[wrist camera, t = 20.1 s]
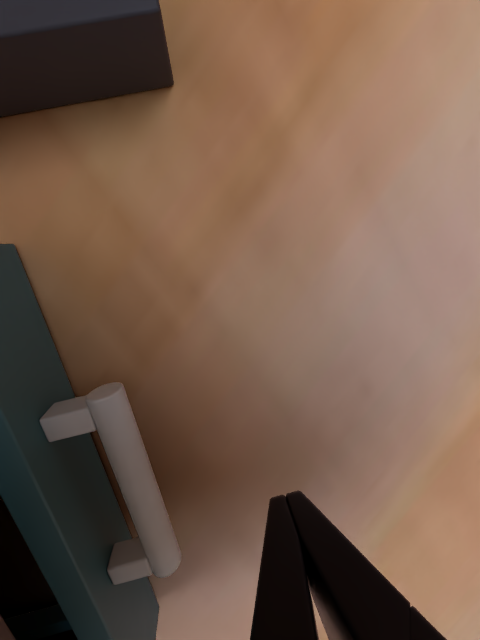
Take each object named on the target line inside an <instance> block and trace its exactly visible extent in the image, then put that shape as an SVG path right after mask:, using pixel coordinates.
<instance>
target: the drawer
mask: <svg viewBox="0 0 480 640" xmlns="http://www.w3.org/2000/svg"><path fill="white" fill-rule="evenodd" d="M96 429H97V431H98V434H99V436H100V439H101V442H102V444H103V447H104V449H105V452H106V454H107V457H108V459H109V462H110V465H111V467H112V470H113V472H114V475H115V477H116V480H117V482H118V485H119V488H120V490H121V493H122V495H123V498H124V500H125V503H126V505H127V508H128V511H129V513H130V516H131V518H132V521H133V523H134V526H135V528H136V531H137V533H138V536H139V537H136V538H133V539H132V537H131V535H130V532H129V530H128V527H127V525H126V522H125V520H124V517H123V515H122V512H121V510H120V507H119V505H118V502H117V500H116V497H115V495H114V492H113V490H112V487H111V485H110V482H109V480H108V477H107V475H106V472H105V470H104V467H103V465H102V462H101V460H100V457H99V455H98V452H97V450H96V447H95V445H94V442H93V440H92V437H91V435H90V432H93V431H95V430H96ZM0 496H1V498H2V499H3V501H4V503H5V505H6V507H7V509H8V511H9V512H10V514H11V516H12V518H13V520H14V522H15V524H16V525H17V527H18V529H19V531H20V533H21V535H22V537H23V538H24V540H25V542H26V544H27V546H28V548H29V550H30V552H31V553H32V555H33V557H34V559H35V561H36V563H37V565H38V566H39V568H40V570H41V572H42V574H43V576H44V578H45V579H46V581H47V583H48V585H49V587H50V589H51V591H52V592H53V594H54V596H55V598H56V600H57V602H58V605H54V606H51V607H47V608H43V609H40V610H36V611H32V612H29V613H25V614H21V615H18V616H14V617H11V618H7V619H4V621H5V623H6V624H7V626H8V627H9V629H10V631H11V632H12V634H13V635H14V637H15V639H16V640H36V639H40V638H43V637H47V636H50V635H54V634H57V633H61V632H64V631H68V630H73V632H74V633H75V635H76V637H77V639H78V640H155V639H156V630H157V621H158V613H159V604H158V602H157V599H156V597H155V594H154V592H153V589H152V587H151V584H150V582H149V579H148V577H147V576H150V575H151V574H152V572H153V574H154V575H155V576H157V577H159V578H165V577H168V576H170V575H171V574H173V573H174V572H175V571H176V570H177V568H178V567H179V565H180V562H181V558H182V554H181V551H180V548H179V545H178V542H177V539H176V536H175V533H174V530H173V527H172V524H171V522H170V519H169V516H168V513H167V510H166V507H165V504H164V501H163V498H162V496H161V493H160V490H159V487H158V484H157V481H156V478H155V475H154V472H153V469H152V467H151V464H150V461H149V458H148V455H147V452H146V449H145V446H144V443H143V441H142V438H141V435H140V432H139V429H138V426H137V423H136V420H135V417H134V414H133V412H132V409H131V406H130V403H129V400H128V397H127V394H126V391H125V388H124V386H123V384H122V383H119V382H113V383H108V384H105V385H102V386H99V387H97V388H96V389H94V390H92V391H91V392H90V393H88V394H87V395H85V396H81V397H77V398H76V397H75V395H74V392H73V390H72V387H71V385H70V382H69V380H68V377H67V375H66V372H65V370H64V367H63V365H62V362H61V360H60V357H59V355H58V352H57V350H56V348H55V345H54V343H53V340H52V338H51V335H50V333H49V330H48V328H47V325H46V323H45V320H44V318H43V315H42V313H41V310H40V308H39V305H38V303H37V300H36V298H35V295H34V293H33V290H32V288H31V285H30V283H29V280H28V278H27V275H26V273H25V270H24V268H23V265H22V263H21V260H20V258H19V255H18V253H17V250H16V248H15V245H14V244H0Z"/></svg>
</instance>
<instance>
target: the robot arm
mask: <svg viewBox="0 0 480 640" xmlns="http://www.w3.org/2000/svg"><path fill="white" fill-rule="evenodd" d="M309 588H310V589H309ZM310 591H311V594H312V597H313V600H314V603H315V605H316V608H317V610H318V613H319V616H320V618H321V621H322V623H323V626H324V628H325V631H326V633H327V636H328V639H329V640H447V639H446V638H445V637H443V636H442V635H441V634H440V633H439V632H438V631H437V630H436V629H435V628H434V627H433V626H432V625H431V624H430V623H429V622H428V621H427V620H426V619H425V618H424V617H423V616H422V615H421V614H420V613H419V611H418V610H417V609H416V608H415V607H413V606H411V608H410V603H409V601H408V600H407V599H406V598H405V597H404V596H403V595H402V594H401V593H400V592H399V591H398V590H397V589H396V588H395V587H394V586H393V585H392V584H391V583H390V582H389V581H388V580H387V579H386V578H385V577H384V576H383V575H382V574H381V573H380V572H379V571H378V570H377V569H376V568H375V567H374V566H373V565H372V564H371V563H370V562H369V561H368V560H367V558H366V557H365V556H364V555H363V554H362V553H361V552H360V551H359V550H358V549H357V548H356V547H355V546H354V545H353V544H352V543H351V542H350V541H349V540H348V539H347V538H346V537H345V536H344V535H343V534H342V533H341V532H340V531H339V530H338V529H337V528H336V527H335V526H334V525H333V524H332V523H331V522H330V521H329V520H328V519H327V518H326V517H325V515H324V514H323V513H322V512H321V511H320V510H319V509H318V508H317V507H316V506H315V505H314V504H313V503H312V502H311V501H310V500H309V499H308V498H307V497H306V496H305V495H304V494H303V493H302V492H301V491H294V492H291V493H287V494H286V497H285V496H284V495H279V496H276V497H272V498H271V499H270V502H269V509H268V516H267V523H266V530H265V537H264V544H263V551H262V558H261V565H260V572H259V580H258V587H257V594H256V601H255V608H254V615H253V622H252V629H251V636H250V640H319V637H318V631H317V626H316V620H315V615H314V609H313V604H312V599H311V594H310Z"/></svg>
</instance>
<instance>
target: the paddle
mask: <svg viewBox="0 0 480 640" xmlns="http://www.w3.org/2000/svg"><path fill="white" fill-rule="evenodd" d="M172 85H174V81H173V75H172V70H171V64H170V59H169V53H168V48H167V42H166V37H165V31H164V26H163V20H162V15H161V9H160V5H159V0H0V117H2V116H8V115H13V114H19V113H24V112H30V111H35V110H41V109H46V108H52V107H57V106H63V105H68V104H74V103H79V102H85V101H91V100H96V99H102V98H107V97H113V96H118V95H124V94H129V93H135V92H140V91H146V90H151V89H157V88H163V87H168V86H172Z"/></svg>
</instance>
